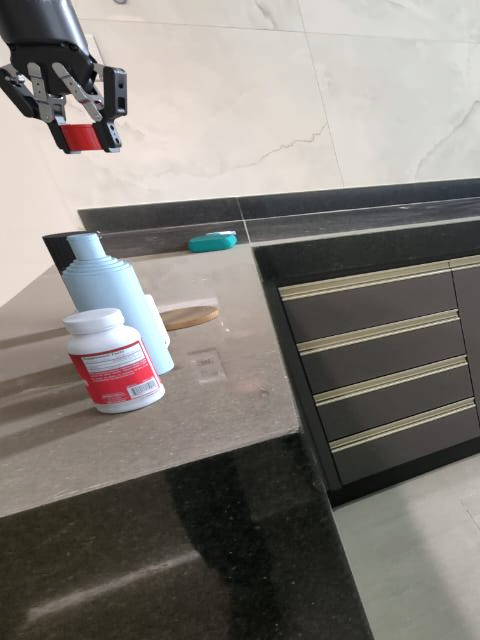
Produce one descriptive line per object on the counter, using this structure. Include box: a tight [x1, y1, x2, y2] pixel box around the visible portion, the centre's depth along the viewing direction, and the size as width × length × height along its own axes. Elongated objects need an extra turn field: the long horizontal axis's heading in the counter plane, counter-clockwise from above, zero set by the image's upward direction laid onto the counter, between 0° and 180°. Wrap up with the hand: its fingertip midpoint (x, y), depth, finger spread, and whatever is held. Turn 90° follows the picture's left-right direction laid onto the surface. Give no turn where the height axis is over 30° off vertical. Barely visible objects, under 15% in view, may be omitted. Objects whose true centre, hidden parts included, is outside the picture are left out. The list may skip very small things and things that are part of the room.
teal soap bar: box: [187, 230, 238, 254], centre depth 155 cm, size 3×11×24 cm
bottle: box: [61, 232, 175, 377], centre depth 67 cm, size 6×6×18 cm
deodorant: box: [41, 230, 94, 309], centre depth 88 cm, size 6×6×15 cm
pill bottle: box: [62, 308, 166, 414], centre depth 60 cm, size 6×6×11 cm
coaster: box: [158, 305, 220, 331], centre depth 90 cm, size 10×10×1 cm
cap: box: [60, 123, 104, 152], centre depth 70 cm, size 4×4×3 cm
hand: (92, 152), depth 71 cm, fingers closed on cap, 4 cm apart
